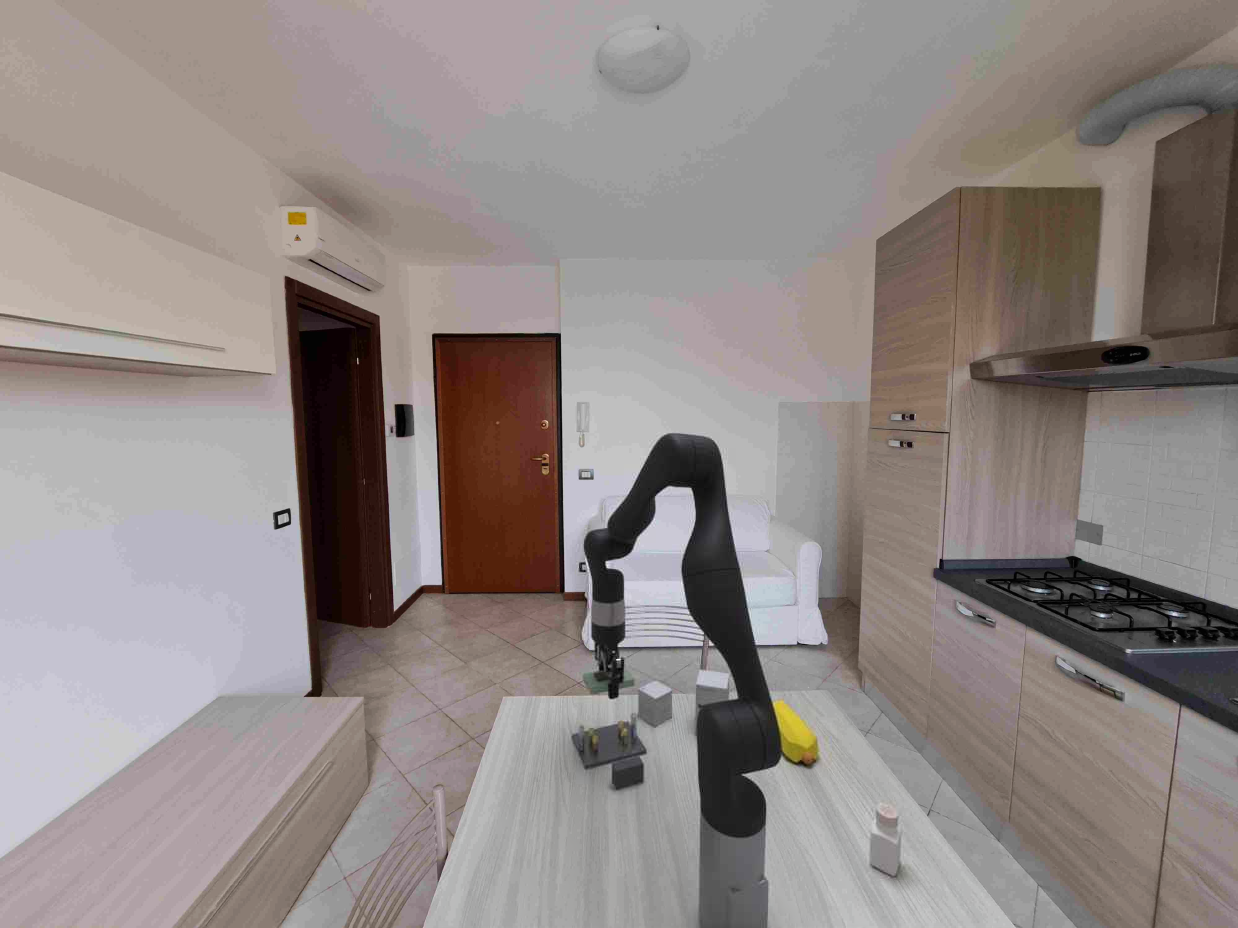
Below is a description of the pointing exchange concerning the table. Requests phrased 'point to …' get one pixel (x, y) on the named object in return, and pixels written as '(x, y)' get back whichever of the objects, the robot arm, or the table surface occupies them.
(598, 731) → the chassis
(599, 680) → the board
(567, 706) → the table surface
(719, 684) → the supplement box
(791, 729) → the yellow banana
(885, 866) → the salt shaker
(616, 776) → the block
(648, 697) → the product box
